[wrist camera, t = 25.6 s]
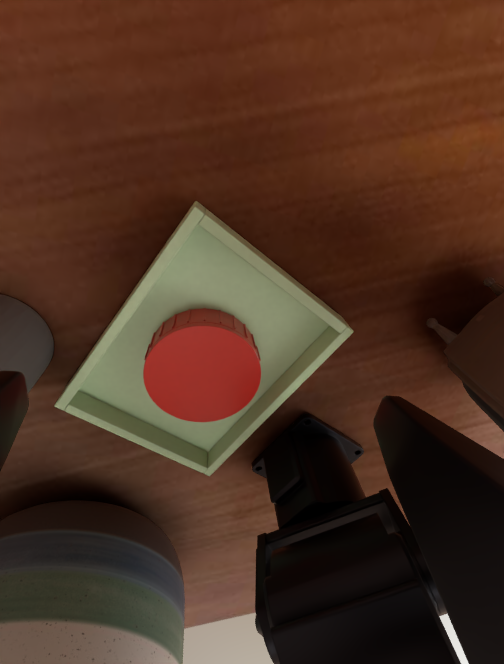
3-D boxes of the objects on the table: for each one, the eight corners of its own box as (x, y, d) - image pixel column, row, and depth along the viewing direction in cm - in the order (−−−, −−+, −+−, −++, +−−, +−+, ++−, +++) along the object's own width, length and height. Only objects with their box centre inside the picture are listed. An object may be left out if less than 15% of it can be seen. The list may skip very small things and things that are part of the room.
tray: (342, 317, 22) (354, 332, 20) (209, 454, 26) (209, 476, 24) (195, 200, 18) (194, 205, 16) (65, 386, 22) (53, 406, 20)
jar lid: (126, 364, 21) (117, 387, 19) (194, 284, 19) (192, 300, 17) (211, 415, 24) (212, 439, 22) (279, 348, 22) (286, 368, 20)
